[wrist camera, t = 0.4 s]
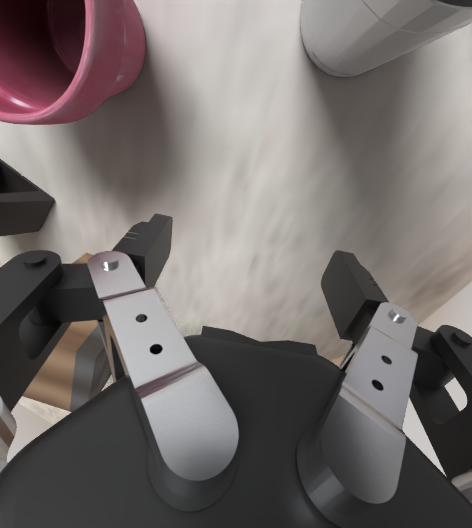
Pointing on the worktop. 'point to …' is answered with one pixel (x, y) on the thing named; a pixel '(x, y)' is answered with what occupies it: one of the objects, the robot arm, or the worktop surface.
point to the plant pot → (66, 57)
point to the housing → (73, 366)
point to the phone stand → (20, 203)
